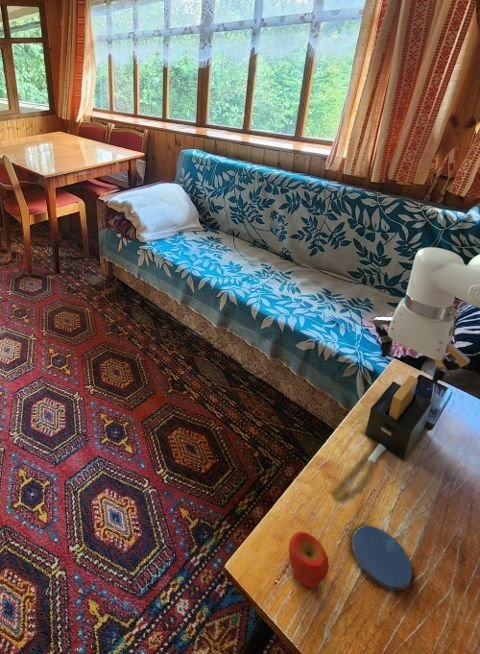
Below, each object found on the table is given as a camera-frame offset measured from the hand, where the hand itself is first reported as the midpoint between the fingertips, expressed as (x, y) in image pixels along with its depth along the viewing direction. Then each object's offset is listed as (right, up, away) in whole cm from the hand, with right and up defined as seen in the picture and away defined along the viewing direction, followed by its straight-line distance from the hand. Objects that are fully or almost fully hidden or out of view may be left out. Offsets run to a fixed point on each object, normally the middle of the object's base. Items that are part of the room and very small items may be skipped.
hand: (409, 366), depth 83 cm
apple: (-32, -30, -16) cm, 47 cm away
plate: (-18, -29, -15) cm, 37 cm away
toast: (+1, -16, +5) cm, 16 cm away
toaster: (+2, -19, +7) cm, 20 cm away
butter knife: (-8, -23, +1) cm, 24 cm away
